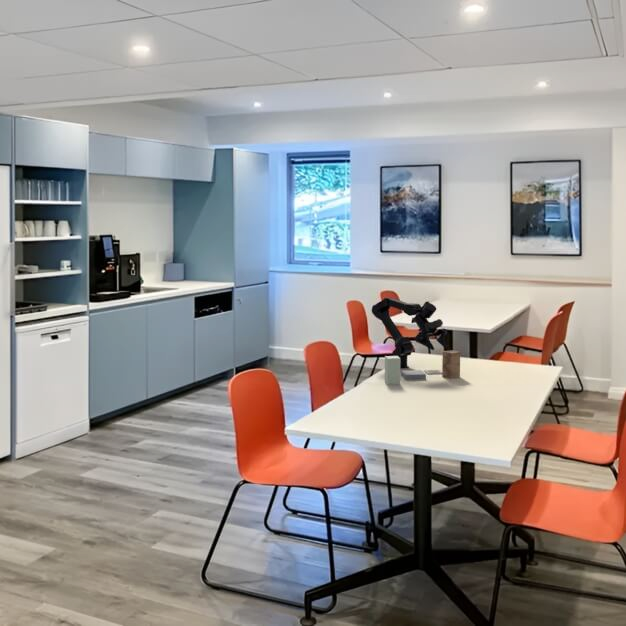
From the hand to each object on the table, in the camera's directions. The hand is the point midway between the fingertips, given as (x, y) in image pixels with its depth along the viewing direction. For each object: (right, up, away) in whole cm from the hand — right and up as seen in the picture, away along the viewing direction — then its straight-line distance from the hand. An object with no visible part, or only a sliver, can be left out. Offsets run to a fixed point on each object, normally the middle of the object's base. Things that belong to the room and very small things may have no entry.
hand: (440, 348), depth 369 cm
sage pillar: (-25, -15, -17) cm, 34 cm away
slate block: (-14, -14, -5) cm, 21 cm away
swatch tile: (-2, -12, +7) cm, 14 cm away
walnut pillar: (+5, -14, -4) cm, 15 cm away
